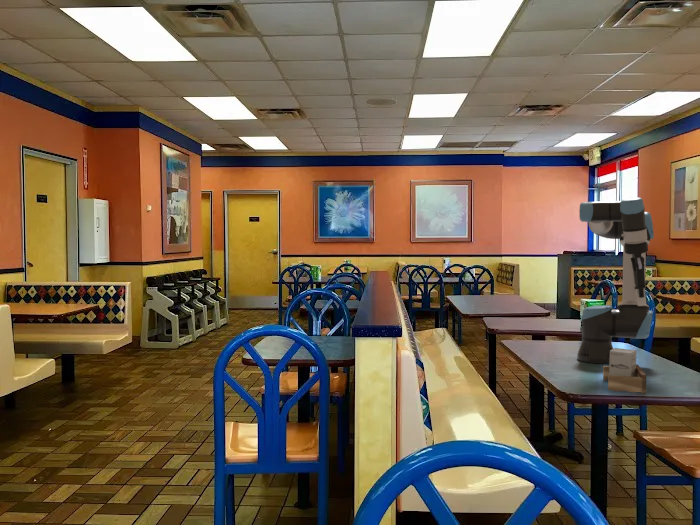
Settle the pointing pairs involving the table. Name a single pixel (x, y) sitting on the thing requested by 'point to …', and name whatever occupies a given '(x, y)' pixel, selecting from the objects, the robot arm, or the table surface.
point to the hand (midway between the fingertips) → (642, 305)
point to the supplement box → (622, 362)
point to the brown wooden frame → (626, 381)
